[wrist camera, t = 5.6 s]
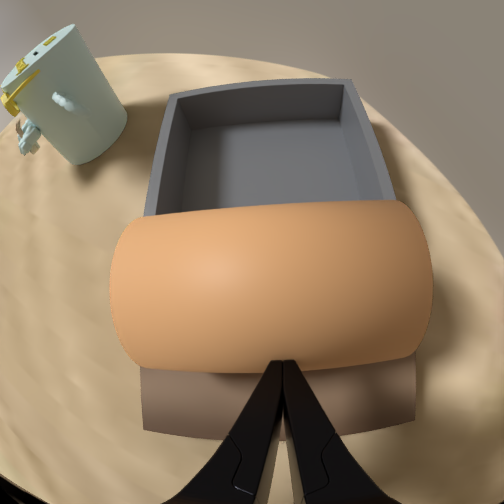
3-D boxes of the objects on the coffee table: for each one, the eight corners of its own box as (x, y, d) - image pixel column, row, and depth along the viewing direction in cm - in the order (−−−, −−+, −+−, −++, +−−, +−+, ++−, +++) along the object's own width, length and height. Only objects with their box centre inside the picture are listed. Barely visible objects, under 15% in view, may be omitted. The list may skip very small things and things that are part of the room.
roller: (362, 256, 16) (392, 165, 10) (383, 371, 12) (453, 325, 6) (184, 267, 17) (138, 184, 11) (171, 379, 13) (92, 341, 7)
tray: (376, 236, 18) (398, 206, 14) (170, 249, 19) (142, 224, 15) (344, 117, 22) (351, 79, 18) (185, 129, 23) (170, 94, 19)
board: (399, 412, 14) (414, 420, 12) (160, 421, 15) (143, 429, 13) (385, 240, 18) (397, 225, 15) (161, 254, 19) (146, 241, 17)
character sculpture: (37, 146, 27) (-16, 89, 15) (96, 90, 29) (55, 24, 17) (79, 228, 21) (-27, 145, 9) (168, 140, 23) (107, 20, 11)
